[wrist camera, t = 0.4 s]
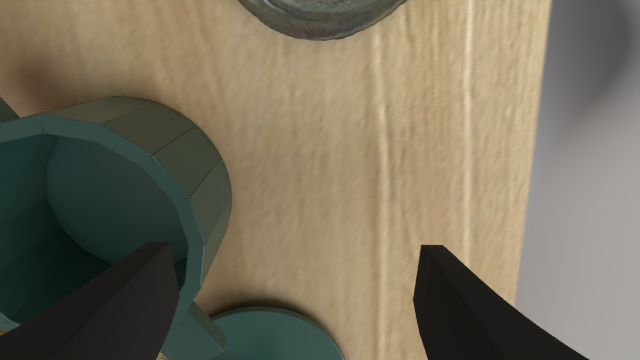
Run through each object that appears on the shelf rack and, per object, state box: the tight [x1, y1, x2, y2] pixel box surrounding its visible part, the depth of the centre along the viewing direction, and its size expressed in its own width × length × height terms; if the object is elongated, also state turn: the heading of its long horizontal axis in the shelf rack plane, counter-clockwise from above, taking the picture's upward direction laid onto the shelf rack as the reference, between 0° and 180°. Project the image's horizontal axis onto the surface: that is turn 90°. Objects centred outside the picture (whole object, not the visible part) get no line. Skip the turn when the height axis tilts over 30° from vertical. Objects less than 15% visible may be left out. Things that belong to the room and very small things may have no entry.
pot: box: [0, 96, 232, 360], centre depth 19 cm, size 10×16×6 cm, turn 34°
